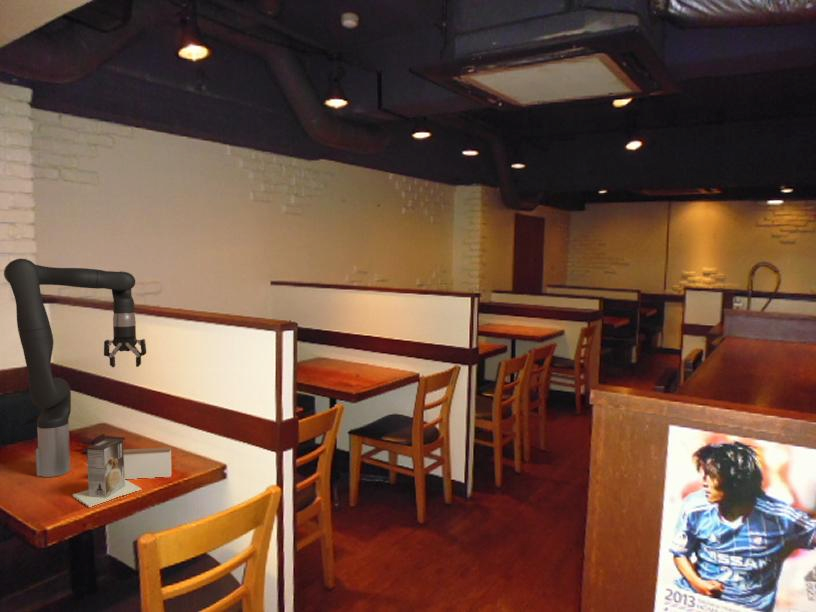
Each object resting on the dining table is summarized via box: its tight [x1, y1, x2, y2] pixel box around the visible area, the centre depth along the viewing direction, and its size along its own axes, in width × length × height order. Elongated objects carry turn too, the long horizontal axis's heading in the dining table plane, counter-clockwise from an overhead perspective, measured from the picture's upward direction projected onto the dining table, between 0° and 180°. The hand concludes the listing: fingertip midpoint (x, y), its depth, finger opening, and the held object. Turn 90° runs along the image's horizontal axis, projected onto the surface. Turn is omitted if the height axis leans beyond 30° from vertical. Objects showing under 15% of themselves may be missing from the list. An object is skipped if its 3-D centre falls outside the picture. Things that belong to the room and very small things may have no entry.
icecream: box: [81, 433, 126, 455], centre depth 215 cm, size 7×7×15 cm
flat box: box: [123, 446, 172, 480], centre depth 190 cm, size 22×2×10 cm, turn 103°
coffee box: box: [86, 439, 125, 498], centre depth 177 cm, size 9×6×16 cm
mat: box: [72, 480, 142, 508], centre depth 178 cm, size 16×12×1 cm
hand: (125, 366), depth 210 cm, fingers open, 8 cm apart
